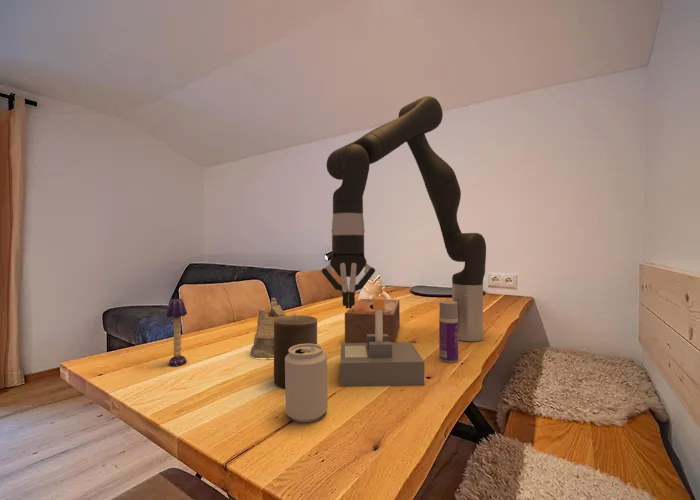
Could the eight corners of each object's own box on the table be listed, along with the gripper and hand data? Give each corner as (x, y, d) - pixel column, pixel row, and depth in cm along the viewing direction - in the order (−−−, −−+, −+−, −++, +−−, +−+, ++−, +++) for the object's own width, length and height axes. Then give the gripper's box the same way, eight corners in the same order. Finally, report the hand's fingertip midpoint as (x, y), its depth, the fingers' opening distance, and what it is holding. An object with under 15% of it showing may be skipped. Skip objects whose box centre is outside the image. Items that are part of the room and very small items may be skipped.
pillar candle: (280, 392, 68) (280, 320, 68) (269, 376, 77) (269, 311, 77) (324, 383, 73) (324, 315, 73) (308, 368, 82) (308, 307, 81)
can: (287, 404, 63) (286, 342, 63) (327, 402, 64) (326, 340, 64) (283, 426, 56) (282, 355, 56) (327, 423, 57) (327, 353, 56)
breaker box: (341, 362, 85) (340, 331, 85) (411, 361, 85) (411, 330, 85) (340, 386, 71) (340, 349, 71) (424, 384, 71) (424, 347, 71)
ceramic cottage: (241, 356, 90) (244, 301, 90) (275, 341, 106) (278, 294, 105) (290, 367, 85) (294, 308, 84) (319, 350, 100) (322, 300, 100)
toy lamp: (192, 362, 87) (190, 298, 86) (176, 368, 82) (174, 301, 82) (179, 359, 89) (177, 297, 88) (163, 365, 84) (161, 300, 84)
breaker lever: (373, 347, 80) (372, 296, 80) (383, 347, 80) (382, 296, 80) (374, 354, 76) (374, 299, 76) (385, 353, 76) (384, 299, 76)
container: (459, 363, 84) (459, 304, 83) (440, 362, 85) (439, 303, 84) (457, 356, 88) (456, 300, 88) (438, 355, 89) (438, 300, 89)
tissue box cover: (393, 349, 96) (393, 314, 96) (345, 346, 99) (344, 313, 99) (399, 326, 121) (399, 299, 121) (360, 325, 124) (360, 298, 124)
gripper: (374, 234, 81) (375, 304, 82) (320, 234, 81) (321, 305, 81) (378, 233, 74) (378, 310, 74) (318, 233, 74) (319, 311, 74)
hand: (348, 307), depth 78 cm, fingers closed
